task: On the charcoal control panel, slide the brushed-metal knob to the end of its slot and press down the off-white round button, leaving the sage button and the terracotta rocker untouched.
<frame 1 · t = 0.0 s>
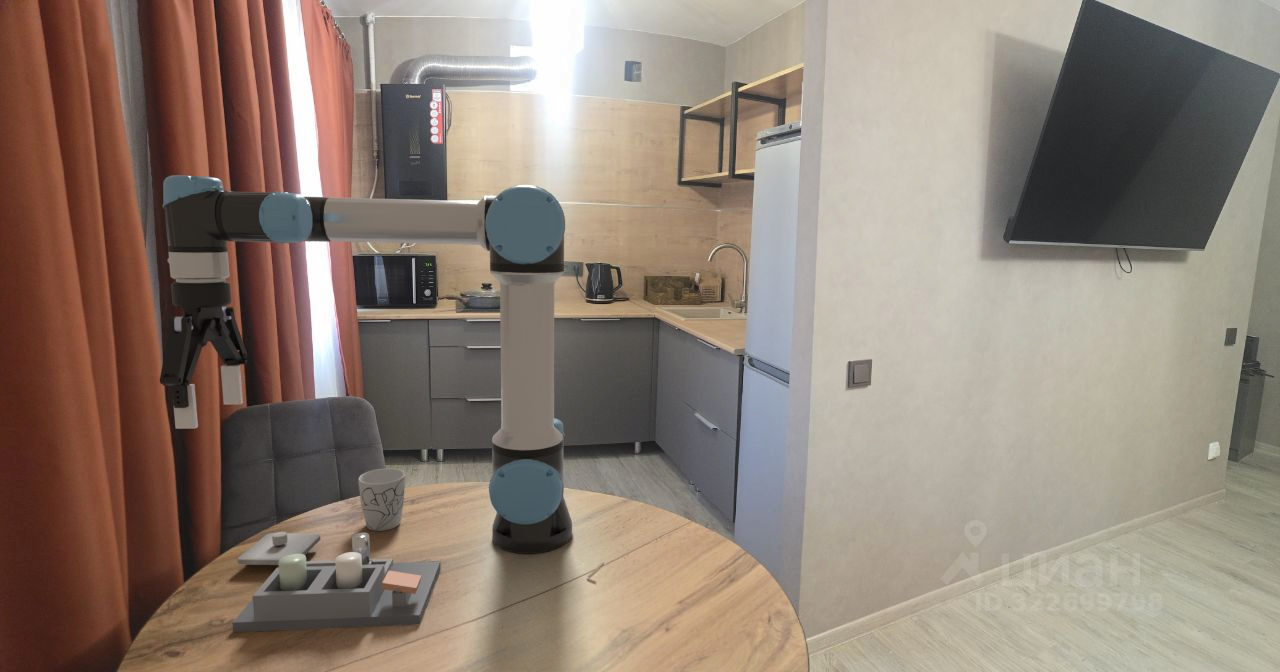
hand: (211, 415, 103), 28 cm above the table, fingers open, 13 cm apart
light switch: (281, 562, 114), on the table
panel: (346, 598, 103), on the table
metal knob: (361, 553, 107), point 5 cm above the table, slide at 0.0 cm
mug: (387, 522, 131), on the table
sage button: (293, 572, 98), point 7 cm above the table, slide at 0.0 cm
rocker: (401, 583, 100), point 4 cm above the table, hinge at -12.0°
white button: (349, 570, 98), point 7 cm above the table, slide at 0.0 cm
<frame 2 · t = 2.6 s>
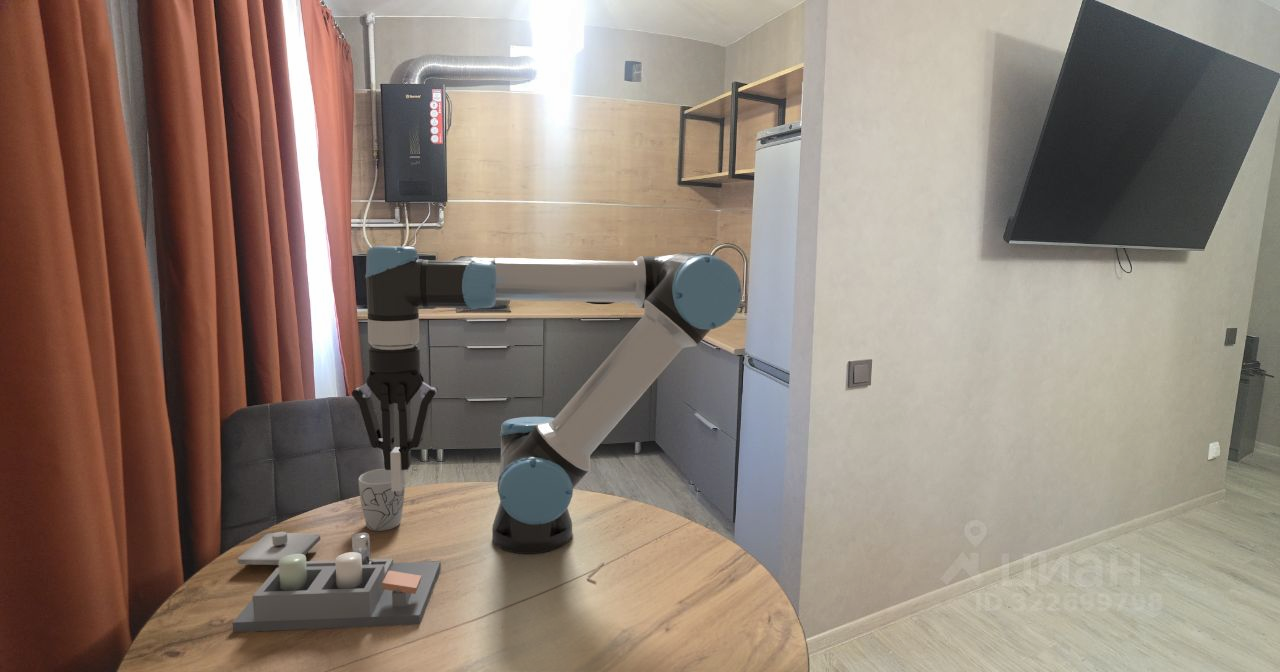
hand: (398, 488, 106), 16 cm above the table, fingers closed
nothing on the table moved.
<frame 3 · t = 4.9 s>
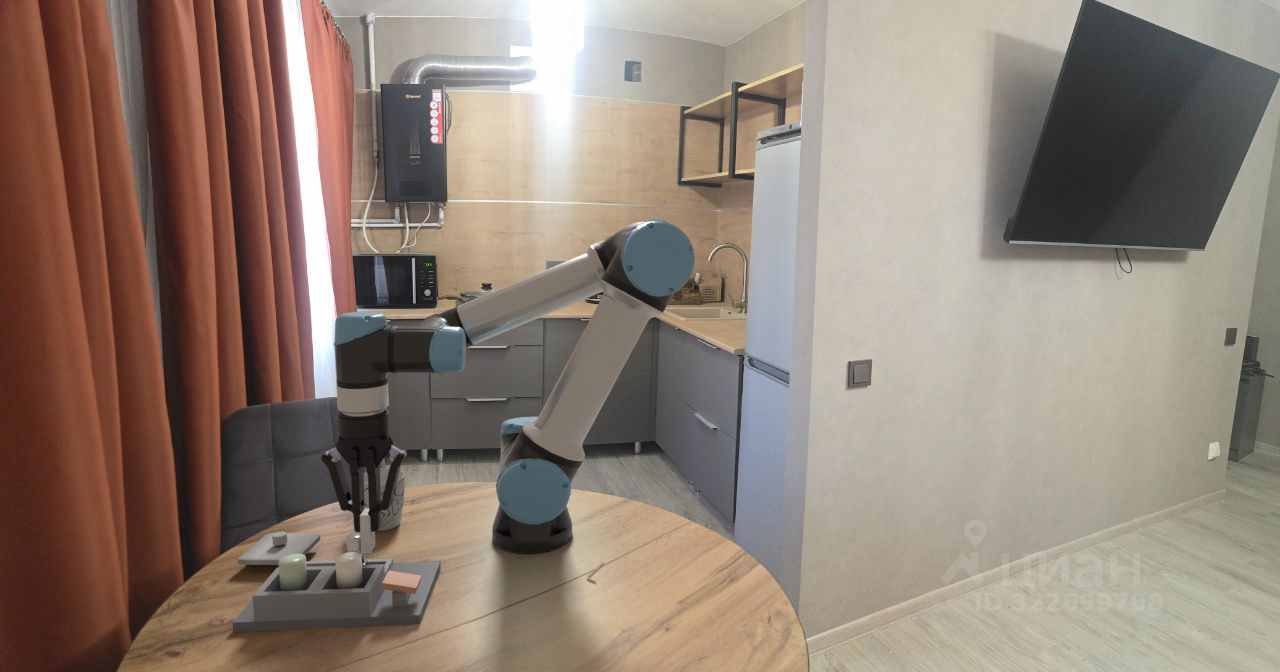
hand: (368, 549, 107), 6 cm above the table, fingers closed
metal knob: (355, 554, 107), point 5 cm above the table, slide at 0.9 cm, touching gripper
everything else where it was.
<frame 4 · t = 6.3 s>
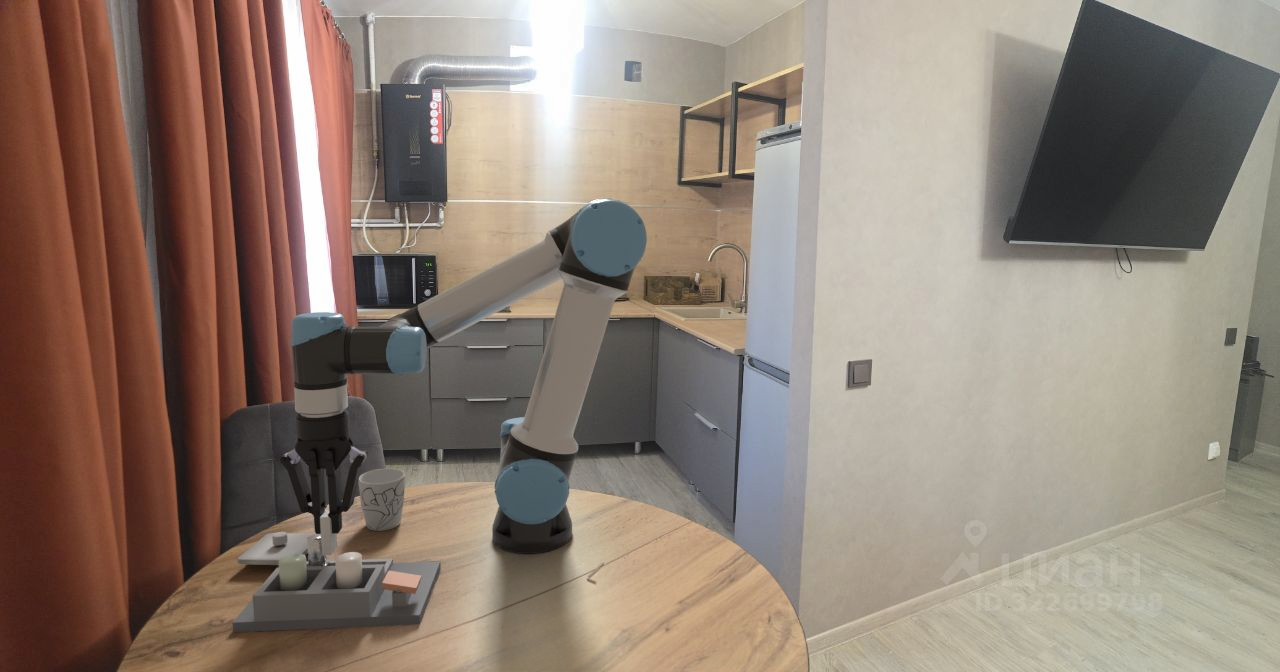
hand: (329, 551, 107), 5 cm above the table, fingers closed
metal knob: (316, 555, 107), point 5 cm above the table, slide at 7.0 cm, touching gripper
everything else where it was.
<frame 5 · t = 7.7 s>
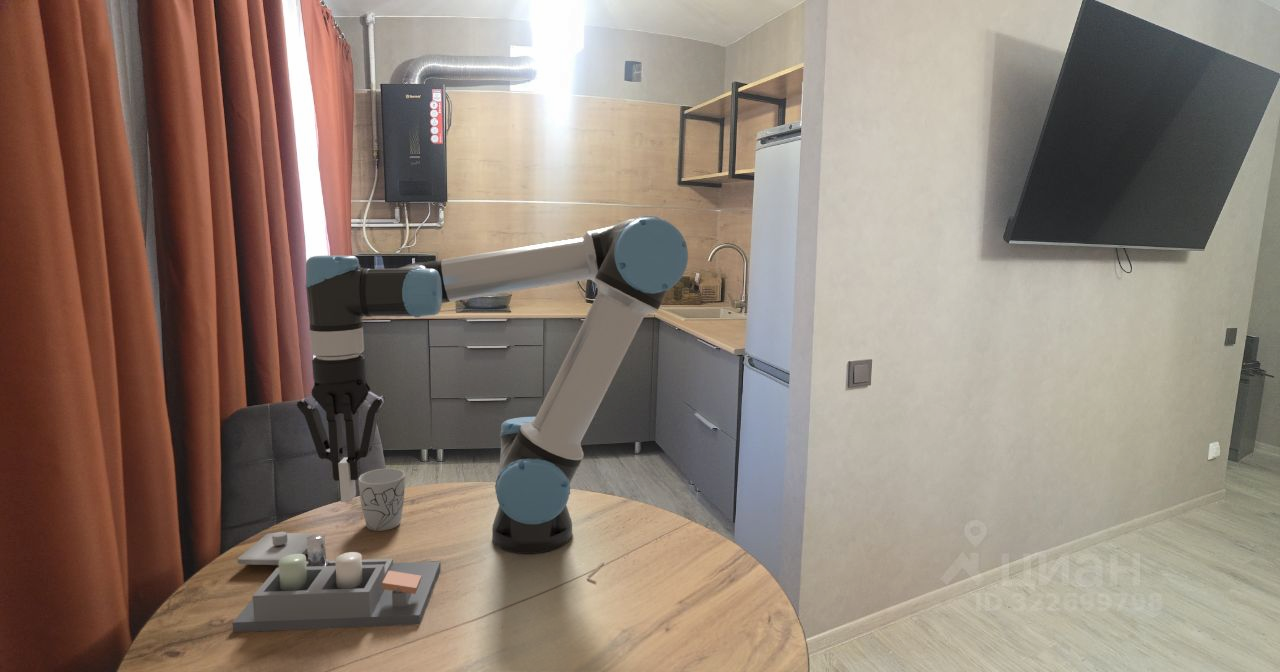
hand: (348, 498, 106), 14 cm above the table, fingers closed
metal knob: (316, 555, 107), point 5 cm above the table, slide at 7.0 cm
everything else where it was.
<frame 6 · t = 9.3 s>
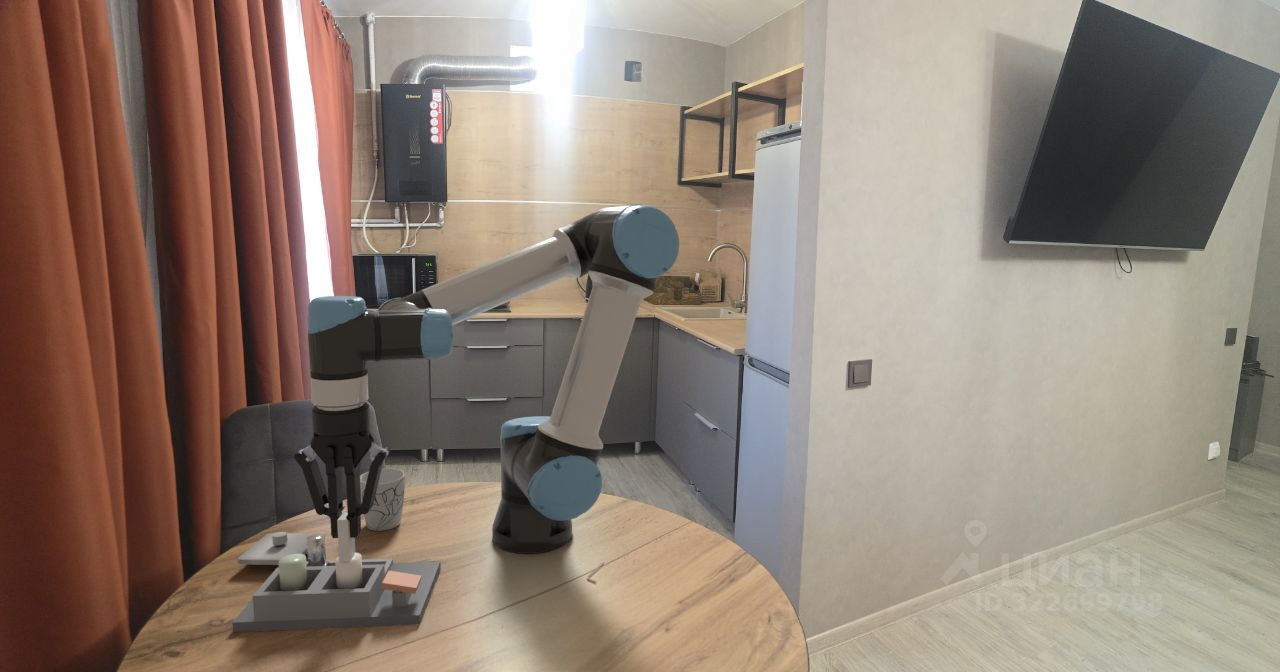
hand: (347, 556, 98), 9 cm above the table, fingers closed
white button: (349, 570, 98), point 7 cm above the table, slide at 0.1 cm, touching gripper
everything else where it was.
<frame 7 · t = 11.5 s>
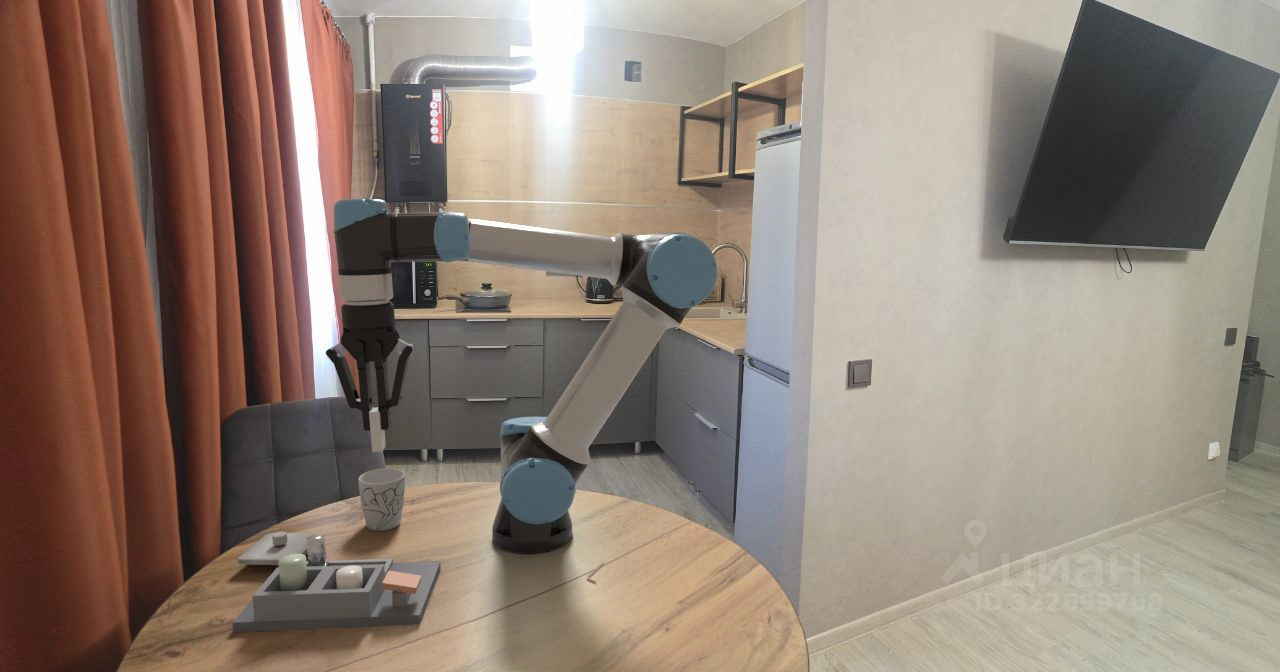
hand: (379, 449, 104), 23 cm above the table, fingers closed
white button: (349, 583, 99), point 5 cm above the table, slide at 2.2 cm
everything else where it was.
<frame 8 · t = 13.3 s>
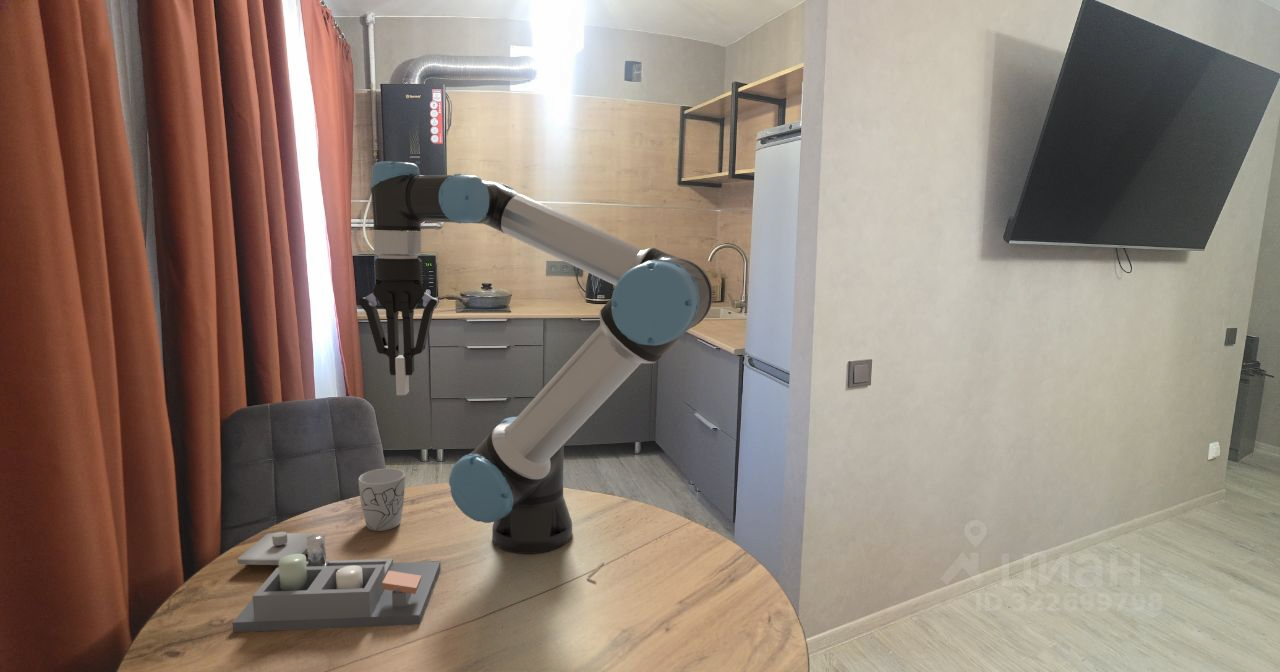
hand: (402, 393, 114), 29 cm above the table, fingers closed
nothing on the table moved.
at the end: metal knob slide at 7.0 cm; white button slide at 2.2 cm; sage button slide at 0.0 cm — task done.
